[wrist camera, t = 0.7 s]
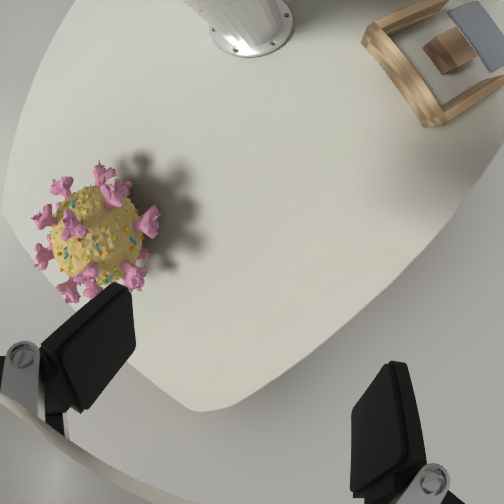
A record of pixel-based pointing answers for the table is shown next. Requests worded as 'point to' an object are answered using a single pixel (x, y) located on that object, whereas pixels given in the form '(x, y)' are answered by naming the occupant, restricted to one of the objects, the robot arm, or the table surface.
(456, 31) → the block
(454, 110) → the oak u-shaped frame
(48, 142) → the table surface
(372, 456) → the robot arm
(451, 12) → the mat
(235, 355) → the table surface
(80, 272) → the educational model
